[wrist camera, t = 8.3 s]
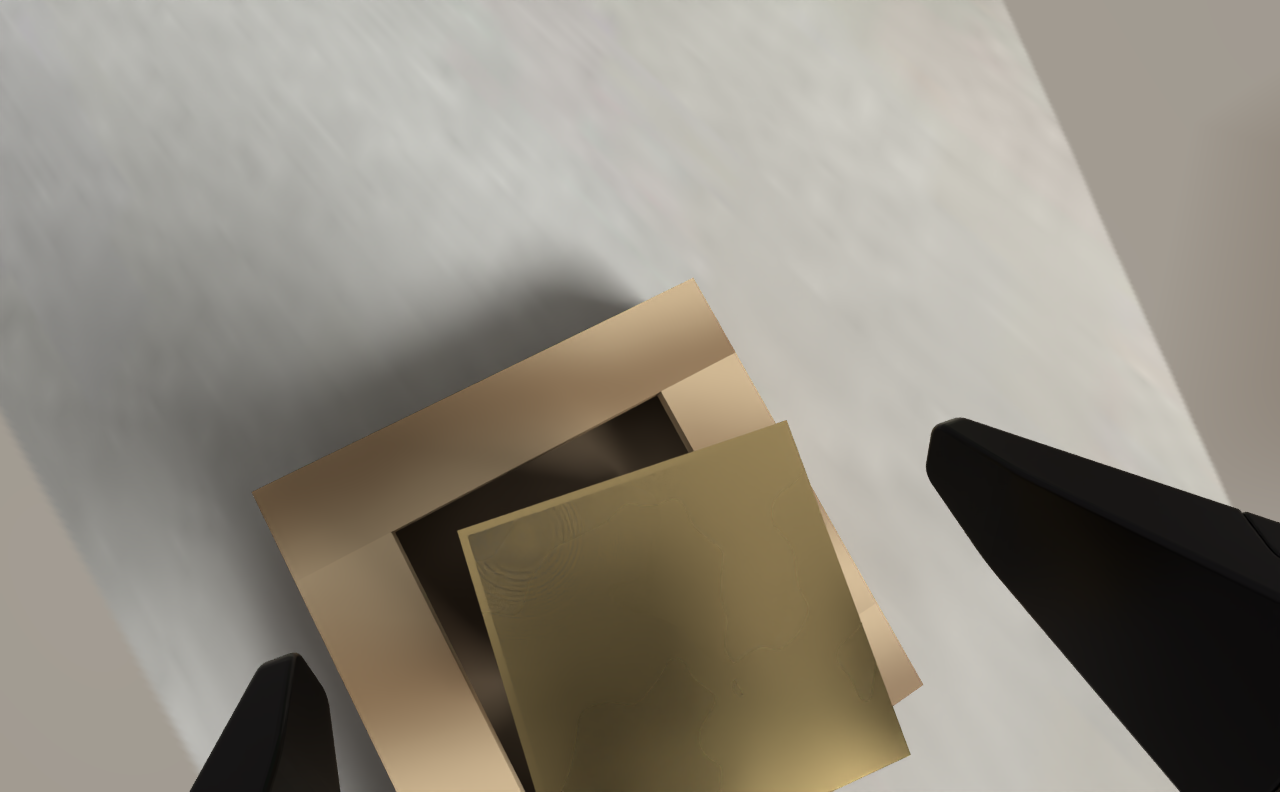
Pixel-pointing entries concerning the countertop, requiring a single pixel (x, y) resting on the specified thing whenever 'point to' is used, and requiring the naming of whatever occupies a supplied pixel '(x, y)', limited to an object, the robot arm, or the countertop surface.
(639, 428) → the caddy
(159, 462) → the countertop surface
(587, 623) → the tea canister
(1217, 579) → the robot arm
